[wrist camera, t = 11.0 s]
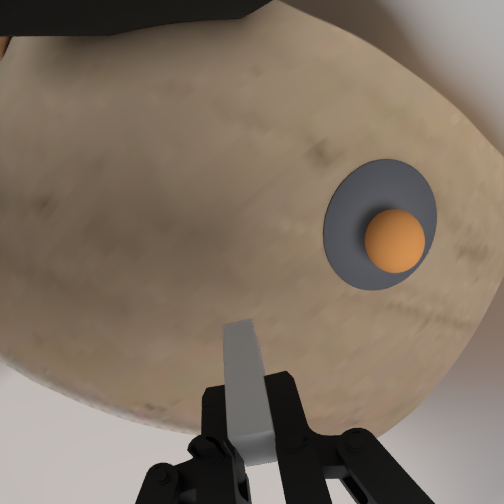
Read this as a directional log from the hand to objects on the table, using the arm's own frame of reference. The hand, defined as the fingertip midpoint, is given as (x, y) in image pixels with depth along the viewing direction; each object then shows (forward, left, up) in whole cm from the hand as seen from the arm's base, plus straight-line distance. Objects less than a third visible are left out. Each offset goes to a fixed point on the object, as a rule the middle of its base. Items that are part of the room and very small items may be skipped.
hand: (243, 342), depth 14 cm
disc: (+14, 0, -11) cm, 18 cm away
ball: (+14, -1, -8) cm, 16 cm away
